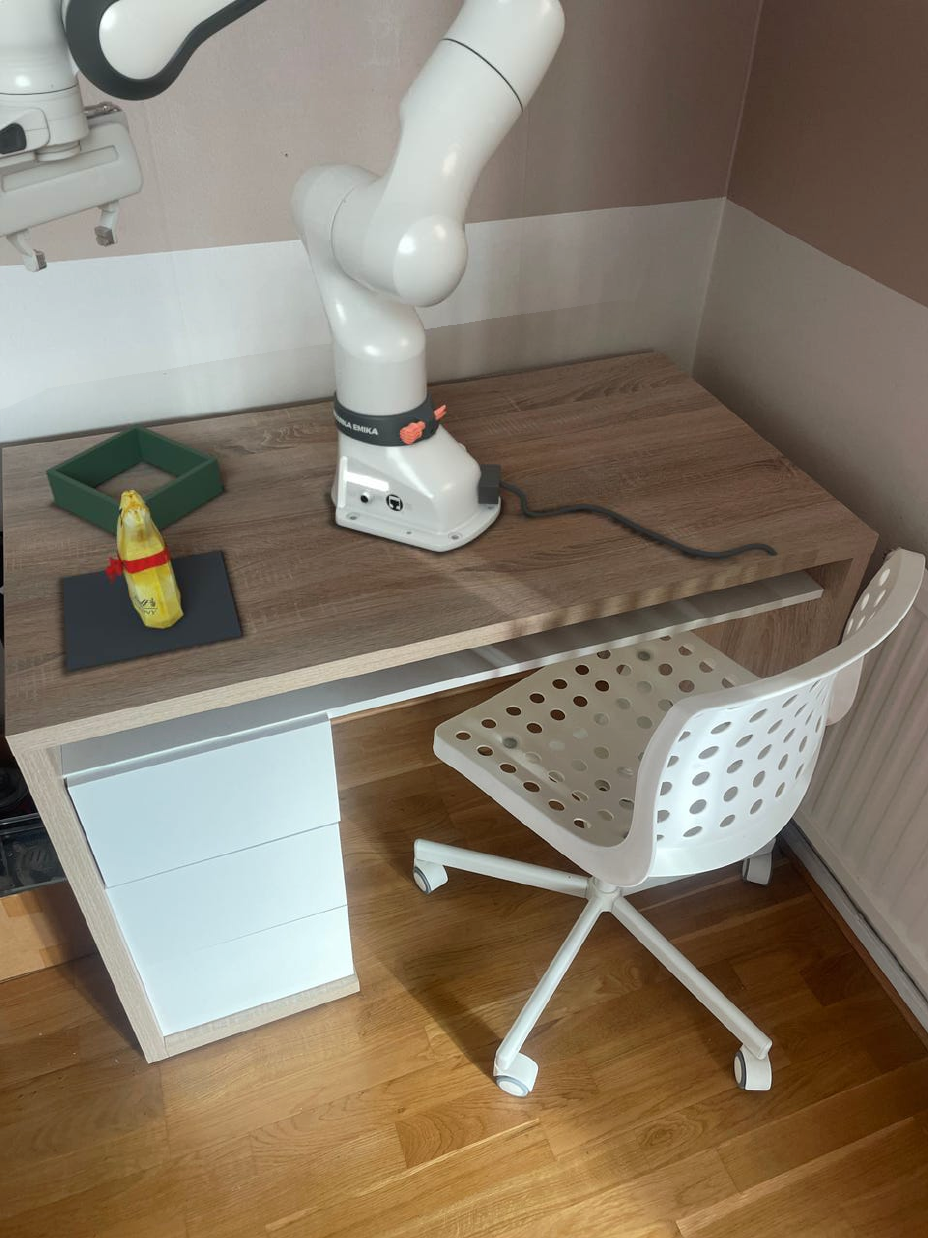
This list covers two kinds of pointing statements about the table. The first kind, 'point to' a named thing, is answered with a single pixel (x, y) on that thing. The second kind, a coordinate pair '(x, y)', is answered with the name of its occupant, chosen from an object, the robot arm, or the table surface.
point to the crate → (121, 453)
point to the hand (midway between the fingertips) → (73, 256)
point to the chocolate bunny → (145, 564)
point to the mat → (115, 628)
